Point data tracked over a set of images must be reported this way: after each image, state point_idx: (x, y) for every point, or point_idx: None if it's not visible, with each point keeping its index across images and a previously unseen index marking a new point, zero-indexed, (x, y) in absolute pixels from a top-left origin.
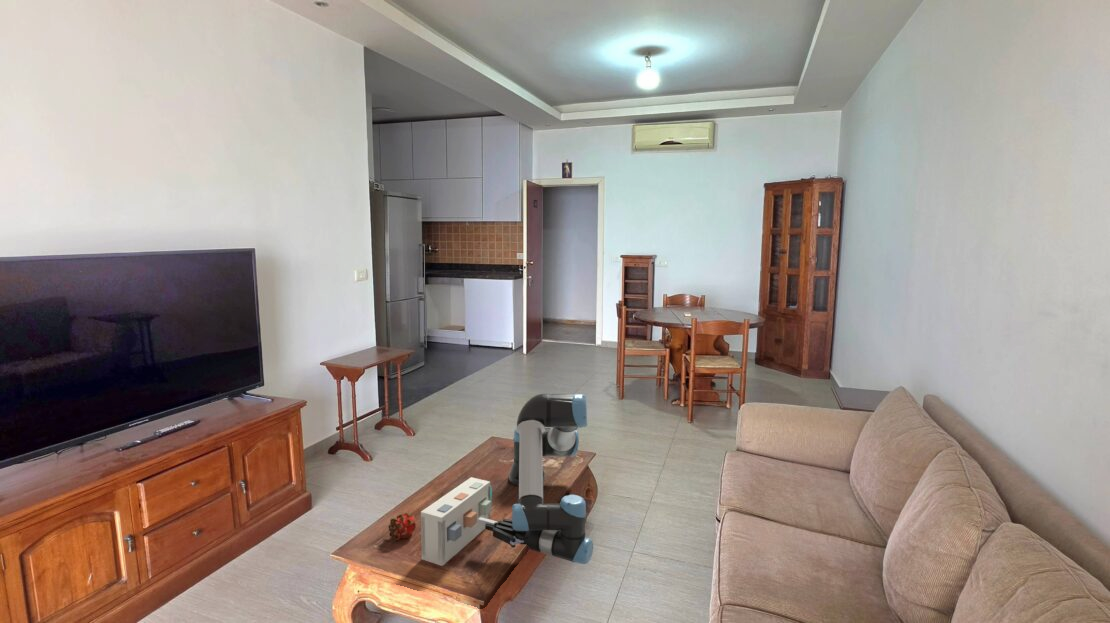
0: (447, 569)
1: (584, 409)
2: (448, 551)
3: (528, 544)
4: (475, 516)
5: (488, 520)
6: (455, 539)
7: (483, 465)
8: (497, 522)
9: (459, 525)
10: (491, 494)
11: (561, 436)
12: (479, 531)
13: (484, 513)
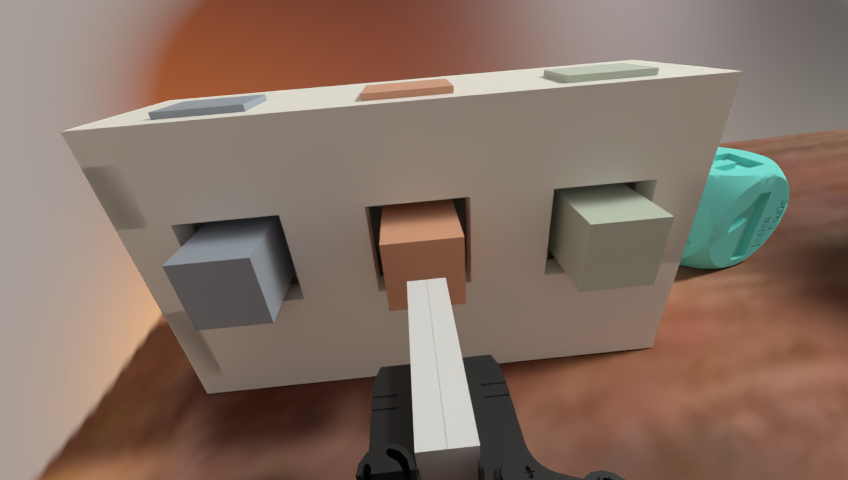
0: (176, 433)
1: None
2: (243, 353)
3: None
4: (443, 257)
5: (436, 349)
6: (198, 322)
7: (821, 155)
8: (478, 453)
9: (242, 252)
10: (773, 223)
11: None
12: (545, 350)
13: (575, 275)
